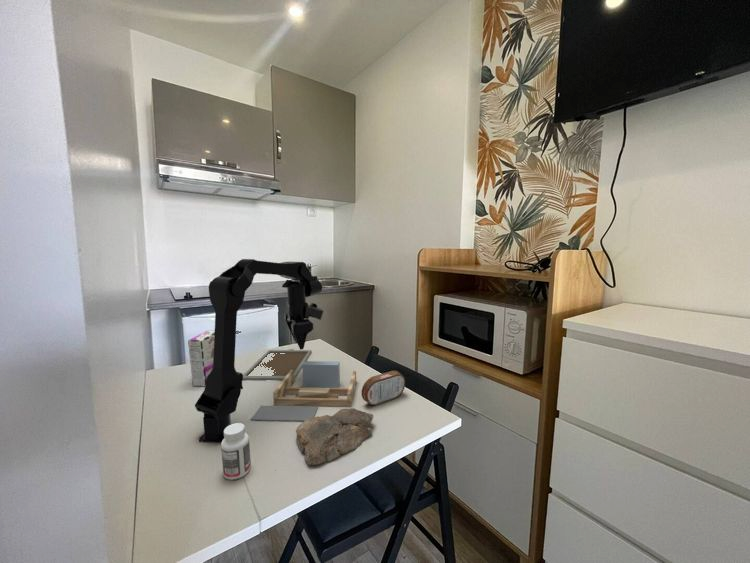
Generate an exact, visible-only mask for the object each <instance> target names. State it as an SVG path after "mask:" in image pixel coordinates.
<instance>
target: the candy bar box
mask: <svg viewBox="0 0 750 563" xmlns="http://www.w3.org/2000/svg"><path fill="white" fill-rule="evenodd" d="M214 335H215V330H205V331H203V332H202V333H200V334H198V335H196V336H194V337H192V338H190V339H188V343H187V344H188V353H189V354H188V355H189V360H190V361H189V362H190V369H191V380H192V387H205V384H206V379H207V377H208V376H209V374H210V372H211V371H212V369H213V357H214Z"/></svg>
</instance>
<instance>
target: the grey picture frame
mask: <svg viewBox="0 0 750 563" xmlns="http://www.w3.org/2000/svg"><path fill="white" fill-rule="evenodd" d="M270 353H274V354H275V356H274V357H272V356H271V357H272V358H273V360H271V361H270V360H269V362H267V364H266V363H265V362H264V364H263V363H262V365H263V366H264V365H265V366H266V367H268V368H270V367H272V368H271V370H274V369H275V370H274V372H273V373H274V375H272V376H248V375H249V374H250V373H251V372H252V371H253V370H254V368H256V367H257V366H259V364H260V363H261V362H262V360H263V359H264V358H265V357H267V355H268V354H270ZM276 353H277V354H276ZM280 353H285V354H280ZM274 354H273V355H274ZM311 354H312V349H301V350H300V349H293V348H290V349H268V350H267V351H266V352H264V354H263V355H262V356H261V357H260V358H259V359H258V360H257V361H256V362H254V364H253V365H252V366H250V367H249V369H248V370H247V371H245V372H244V373H242V374H243V380H242V381H266V380H280V381H281V382H282V381H283V379H284V378H285V377H286V375H287V374H288V373H289V372H290V370H294V381H295V380H296V378H297V376H298V375H299V373H300V372H301V371H302V364H303V363H304V361H308V359H309V357H310V356H311ZM260 366H261V364H260ZM265 366H264V367H265ZM261 367H262V366H261ZM266 367H265V368H266ZM268 370H269V369H268ZM275 372H276V373H275ZM261 375H262V374H261ZM280 381H279V382H280Z"/></svg>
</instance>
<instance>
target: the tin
mask: <svg viewBox="0 0 750 563" xmlns="http://www.w3.org/2000/svg"><path fill="white" fill-rule="evenodd" d="M405 387H406V378H405V377H404V376H403V374H401V372H399V371H398V370H391V371H388V372H384V373H383V372H382V373H381V374H376V375H374V376H371V377H369V378H368V379H366V381H365V382H364V383H363V385H362V388H361V391H360V392H361V398H362V400H363V401H365V403H367V404H368V405H369V406H370V405H371V406H377V405H380V404H383V403H386V402H390V401H392V400H394V399H397V398H399V397H400V396H401V395H402V393H403V392H404V391H405Z"/></svg>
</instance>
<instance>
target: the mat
mask: <svg viewBox="0 0 750 563" xmlns="http://www.w3.org/2000/svg"><path fill="white" fill-rule="evenodd" d="M318 409H319V406H291V405H260V406H259V407H258V408H257V410H256V411H255V412H254V414H253V415H252V416H251V418H250V420H261V421H260V422H289V421H297V422H296V423H299V422H298V421H300V423H303V422H304V421H305V420H308V419H310V418H313V417H316V413H317V411H318Z"/></svg>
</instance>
